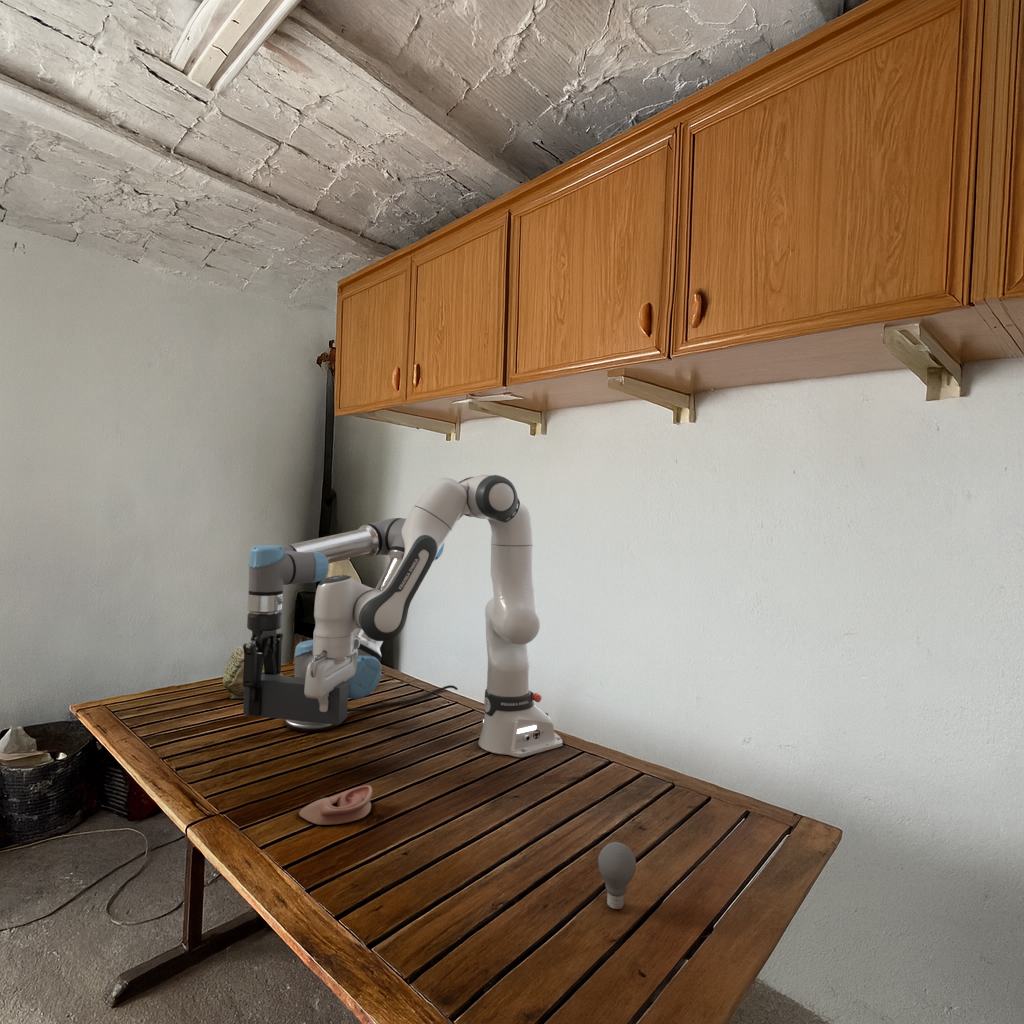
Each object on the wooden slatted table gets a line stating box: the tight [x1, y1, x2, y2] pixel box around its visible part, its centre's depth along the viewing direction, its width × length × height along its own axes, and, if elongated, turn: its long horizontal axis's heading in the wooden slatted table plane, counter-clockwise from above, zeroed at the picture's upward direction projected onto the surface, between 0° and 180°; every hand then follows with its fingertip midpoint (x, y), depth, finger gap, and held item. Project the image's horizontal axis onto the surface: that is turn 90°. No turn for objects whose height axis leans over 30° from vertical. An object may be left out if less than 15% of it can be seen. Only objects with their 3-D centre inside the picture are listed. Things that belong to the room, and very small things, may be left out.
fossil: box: [222, 646, 284, 699], centre depth 198 cm, size 9×18×15 cm, turn 132°
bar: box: [242, 674, 349, 726], centre depth 147 cm, size 23×5×8 cm, turn 81°
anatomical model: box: [298, 784, 373, 826], centre depth 127 cm, size 13×4×12 cm
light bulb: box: [597, 841, 637, 910], centre depth 101 cm, size 6×6×10 cm
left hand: (261, 710), depth 148 cm, fingers closed on bar, 5 cm apart
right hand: (330, 706), depth 146 cm, fingers closed on bar, 5 cm apart
